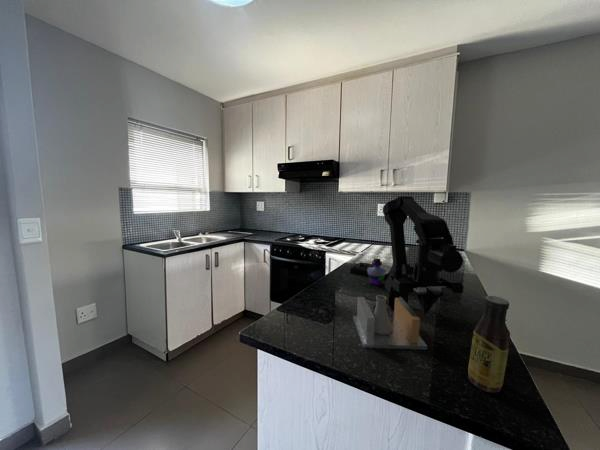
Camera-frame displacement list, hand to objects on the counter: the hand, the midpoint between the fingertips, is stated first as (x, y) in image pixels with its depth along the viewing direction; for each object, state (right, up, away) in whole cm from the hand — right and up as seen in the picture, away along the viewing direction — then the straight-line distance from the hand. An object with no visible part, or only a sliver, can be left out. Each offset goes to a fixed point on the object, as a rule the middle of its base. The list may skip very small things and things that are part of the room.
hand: (424, 312), depth 74 cm
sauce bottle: (+4, -9, -19) cm, 22 cm away
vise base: (-11, -6, +1) cm, 13 cm away
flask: (-13, -6, +1) cm, 14 cm away
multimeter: (+1, 0, +57) cm, 57 cm away
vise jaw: (-5, -5, +1) cm, 8 cm away
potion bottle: (-2, -2, +42) cm, 42 cm away
